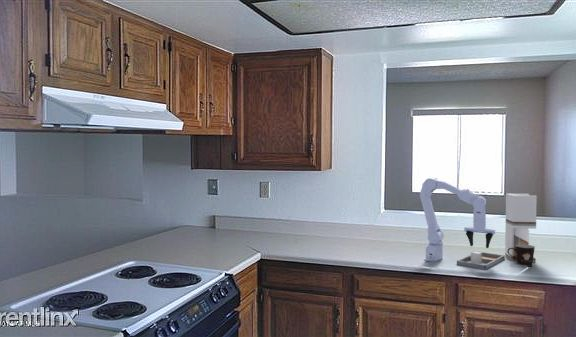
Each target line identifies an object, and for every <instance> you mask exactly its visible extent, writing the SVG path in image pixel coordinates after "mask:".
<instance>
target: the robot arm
mask: <svg viewBox="0 0 576 337" xmlns="http://www.w3.org/2000/svg"><path fill="white" fill-rule="evenodd" d="M436 190H445V191H447V192H448V193H452V194H454V195H456V196H458V199H459V200H460V201H463V202H465V203H467V204H468V205H472V207H473V210H472V211H473V217H472V218H473V219H472V221H473V222H472V223H473V224H472V225H473V227H471V226H470V227H467V226H465V227H464V228H463V231H464V232H465V235H466V237H467V239H468V242H469V247H473V246H474V233H479V234H480V233H481V234H485V248H486V249H489V248H490V247H489V246H490V244H491V240H492V239H493V237H494V235H496V230H495V229H489V228H486V227H487V226H486V223H487V222H486V220H487V219H486V217H487V216H486V213H487V212H486V205H487V204H486V203H487V200H486V198H485V197H483V196H482V195H479V194H478V193H474V192H471V191H470V189H468V188H467V189H465V188H463V189H460V188H458V187H456V186H454V185H452V184H451V183H449V182H447V181H444V180H442V179H439V178H437V177H430V178H426V179H425V181H424V182H422V187H421V189H420V192H419V197H420V201H421V205H422V208H423V213H424V216H425V220H426V224H427V241H428V244H427V246H426V248H425V258H423V260H424V261H425V262H426V261H427V262H432V261H435V262H437V261H440V260H443V254H444V252H443V249H444V248H443V247H444V246H443V245H444V244H443V239H444V233H443V232H442V230H441V227H440V226H439V224H438V220H437V218H436V214H435V210H434V205H433V203H432V198H431V195H432V194H433V192H435V191H436Z"/></svg>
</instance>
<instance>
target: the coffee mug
mask: <svg viewBox="0 0 576 337" xmlns="http://www.w3.org/2000/svg"><path fill="white" fill-rule="evenodd" d="M515 246H516V249H514V248H509V249H508V251H507V252H508V254H509V250H510V249H514V250H515V252H516V255H517V259H516V258H515V257H513V256H512V255H510V254H509V255H510V256H511V257H513V258H514V259H516V260H517V264H518V265H521V266H526V268H532V266H533V263H534V262H533V257H534V254H535V248H536V247H535V246H534V245H531V244H528V245H524V244H518V245H515Z"/></svg>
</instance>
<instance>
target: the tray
mask: <svg viewBox="0 0 576 337" xmlns="http://www.w3.org/2000/svg"><path fill="white" fill-rule="evenodd" d="M476 252H479V251H476ZM480 252H481V253H482V265H481V264H475V263H471V254H468V255H466V256H464V257H461V258H460V259H458V260H456V266H462V267H468V268H472V269H480V270H484V271H486V270H488V269H490V268H492V267H493V266H495V265H497V264H499V263H500V262H503V261H505V258H506V257H505V255H504V254H496V253H491V252H486V251H485V252H484V251H480Z"/></svg>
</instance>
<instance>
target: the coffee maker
mask: <svg viewBox="0 0 576 337" xmlns="http://www.w3.org/2000/svg"><path fill="white" fill-rule="evenodd" d="M537 198H538V197H537V195H530V193H505V233H504V234H505V242H504V243H505V248H504V251H505V253H504V254H505V258H506V259H508V260H509V261H512V262H517V260H516V259H517V255H516V252H515V250H514V249H516V246H515V245H518V244H524V245H530V229H534V230H535V229H537V200H538V199H537ZM509 248H514V249H510V250H509V254H510V255H512V256H513V257H515V258H516V259H514V258H513V257H511V256H510V255H509V254H508V252H507V251H508V249H509ZM536 260H537V259H536V257H534V256H533V263H536Z"/></svg>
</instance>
